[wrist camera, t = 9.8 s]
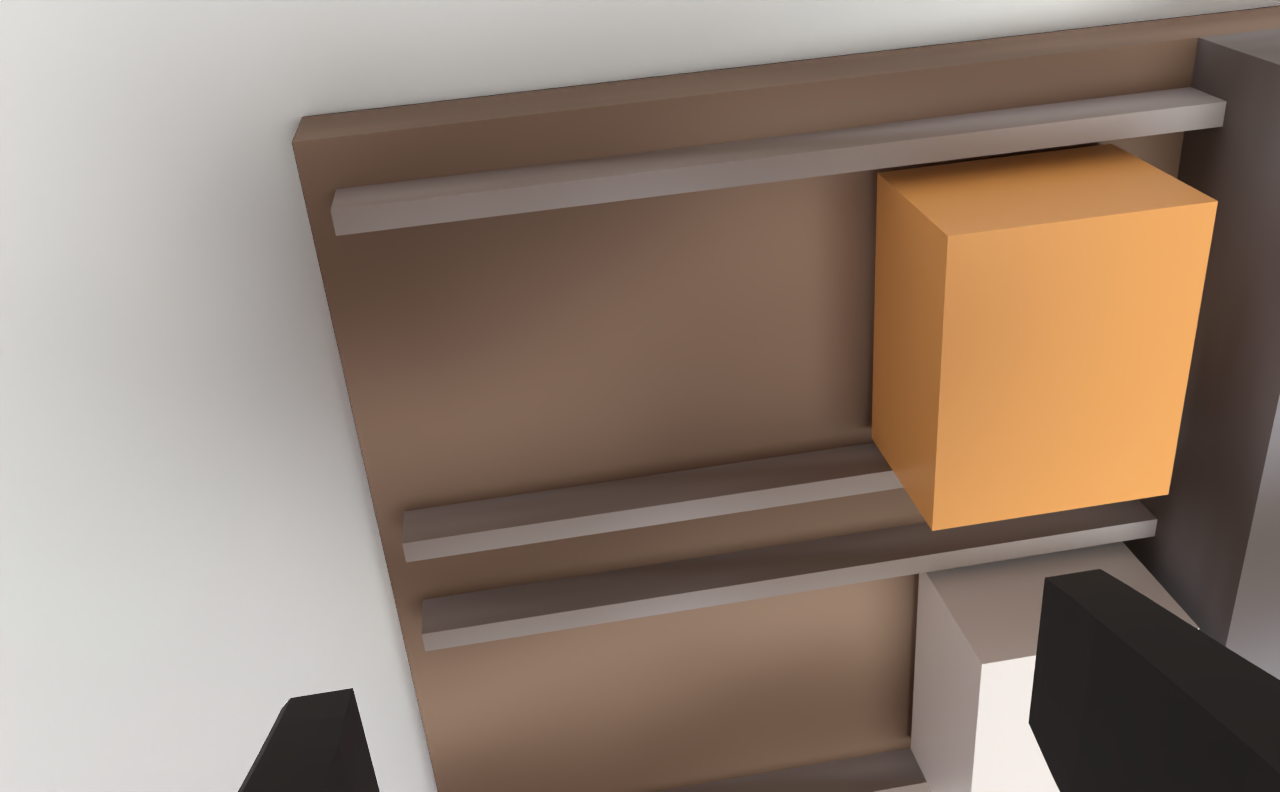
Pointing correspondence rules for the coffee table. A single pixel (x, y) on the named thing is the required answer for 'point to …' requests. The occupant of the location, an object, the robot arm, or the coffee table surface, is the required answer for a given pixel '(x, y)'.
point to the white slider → (994, 665)
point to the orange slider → (1034, 330)
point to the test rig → (745, 393)
